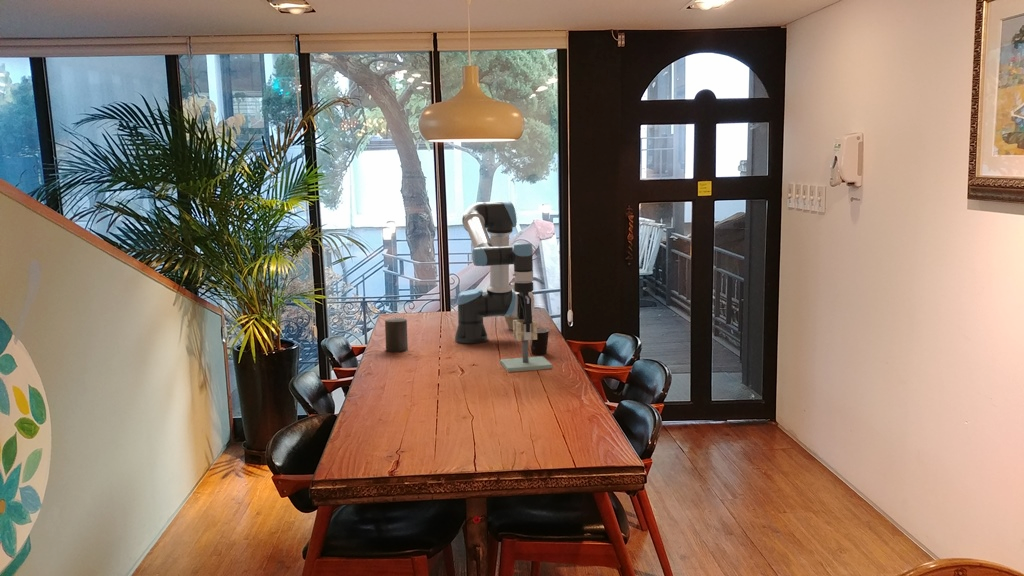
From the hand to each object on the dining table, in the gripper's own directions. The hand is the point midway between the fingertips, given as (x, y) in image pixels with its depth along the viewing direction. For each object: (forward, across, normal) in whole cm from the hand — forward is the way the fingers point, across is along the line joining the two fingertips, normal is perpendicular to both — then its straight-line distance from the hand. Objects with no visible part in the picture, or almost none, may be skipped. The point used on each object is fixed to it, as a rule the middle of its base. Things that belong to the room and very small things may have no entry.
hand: (525, 337), depth 323 cm
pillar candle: (+12, -46, -48) cm, 67 cm away
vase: (+12, -72, +14) cm, 74 cm away
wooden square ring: (0, 0, 0) cm, 0 cm away
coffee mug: (+12, -20, +11) cm, 25 cm away
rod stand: (+12, 0, 0) cm, 12 cm away
